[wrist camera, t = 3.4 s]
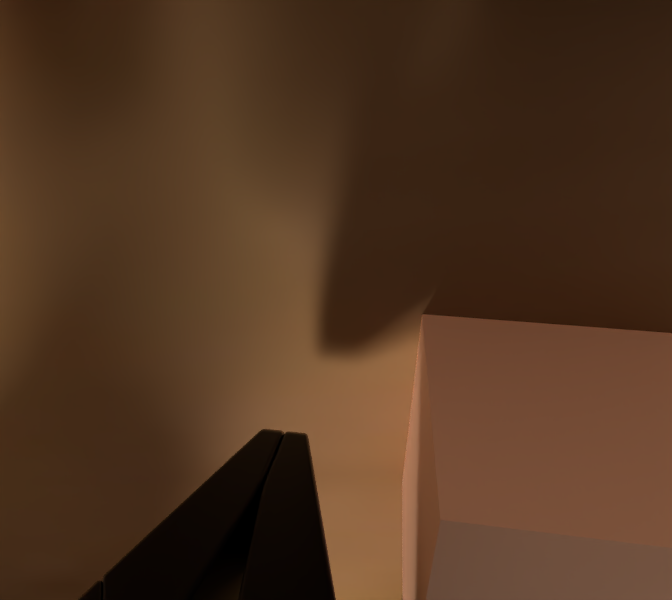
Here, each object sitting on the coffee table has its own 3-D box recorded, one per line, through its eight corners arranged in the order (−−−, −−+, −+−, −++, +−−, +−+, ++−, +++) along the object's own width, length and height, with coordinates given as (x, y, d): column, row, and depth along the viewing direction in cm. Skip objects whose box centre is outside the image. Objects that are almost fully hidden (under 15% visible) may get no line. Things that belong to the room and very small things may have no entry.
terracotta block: (603, 503, 10) (735, 781, 6) (401, 480, 11) (403, 725, 7) (675, 330, 8) (941, 581, 4) (421, 312, 9) (440, 519, 5)
